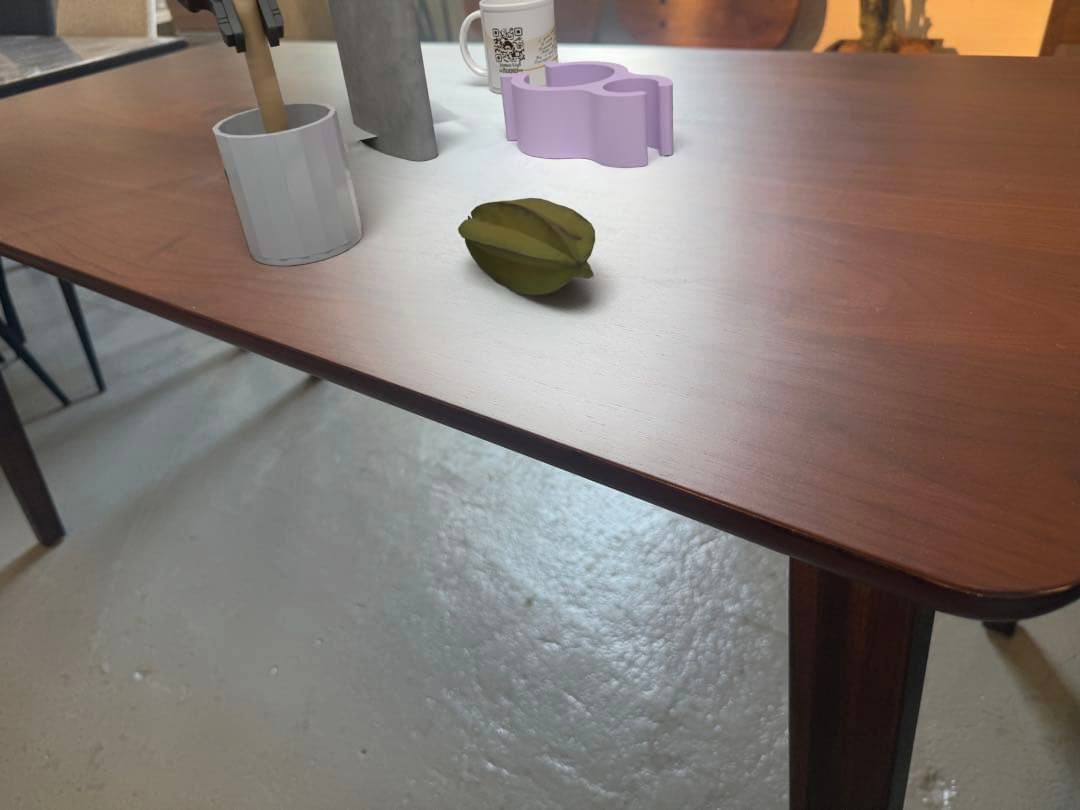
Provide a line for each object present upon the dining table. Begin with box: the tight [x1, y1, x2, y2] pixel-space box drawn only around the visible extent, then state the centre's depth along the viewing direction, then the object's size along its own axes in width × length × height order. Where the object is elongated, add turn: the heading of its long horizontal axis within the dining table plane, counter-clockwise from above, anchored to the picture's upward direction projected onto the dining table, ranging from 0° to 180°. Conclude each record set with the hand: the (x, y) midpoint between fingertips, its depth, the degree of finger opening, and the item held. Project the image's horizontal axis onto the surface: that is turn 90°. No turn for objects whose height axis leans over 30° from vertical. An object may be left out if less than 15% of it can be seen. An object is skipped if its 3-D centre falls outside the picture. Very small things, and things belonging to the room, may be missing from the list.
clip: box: [500, 60, 674, 168], centre depth 92 cm, size 20×12×7 cm, turn 41°
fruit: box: [457, 197, 596, 296], centre depth 64 cm, size 11×12×7 cm
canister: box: [211, 101, 363, 267], centre depth 74 cm, size 10×10×11 cm
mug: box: [458, 0, 559, 95], centre depth 116 cm, size 10×12×11 cm
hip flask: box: [327, 0, 439, 162], centre depth 94 cm, size 16×4×20 cm, turn 38°
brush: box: [231, 0, 290, 134], centre depth 71 cm, size 4×4×18 cm
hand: (258, 42), depth 66 cm, fingers closed on brush, 2 cm apart
